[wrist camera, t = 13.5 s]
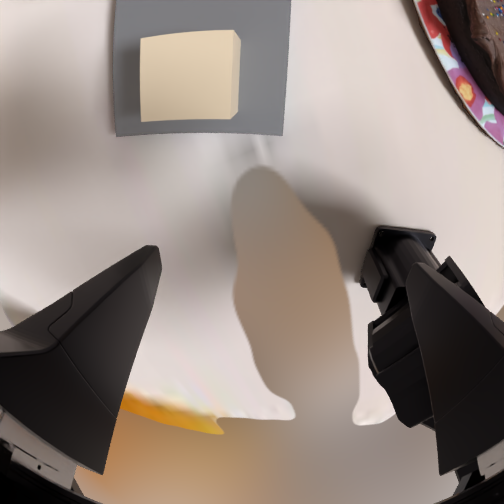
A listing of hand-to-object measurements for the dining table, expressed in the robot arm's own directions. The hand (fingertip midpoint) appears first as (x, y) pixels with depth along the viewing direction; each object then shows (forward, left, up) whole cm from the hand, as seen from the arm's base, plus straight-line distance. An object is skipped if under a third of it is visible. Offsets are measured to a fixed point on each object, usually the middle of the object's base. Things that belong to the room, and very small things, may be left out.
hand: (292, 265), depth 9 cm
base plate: (+6, -14, -13) cm, 20 cm away
